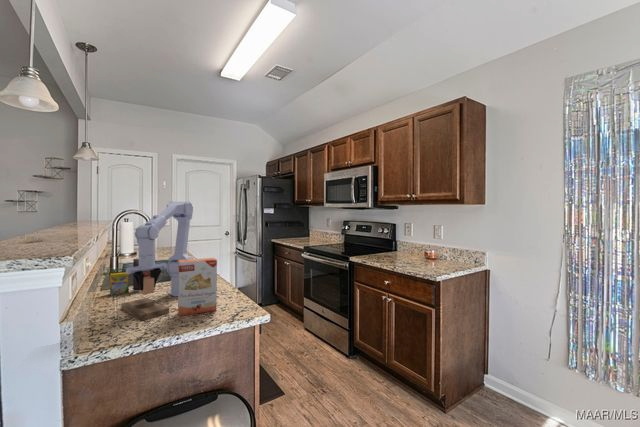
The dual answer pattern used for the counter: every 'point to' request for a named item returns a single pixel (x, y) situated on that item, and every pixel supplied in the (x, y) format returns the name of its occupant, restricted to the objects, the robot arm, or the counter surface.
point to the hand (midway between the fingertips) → (147, 288)
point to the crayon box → (119, 281)
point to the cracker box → (197, 286)
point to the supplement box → (146, 273)
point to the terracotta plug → (147, 286)
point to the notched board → (144, 308)
